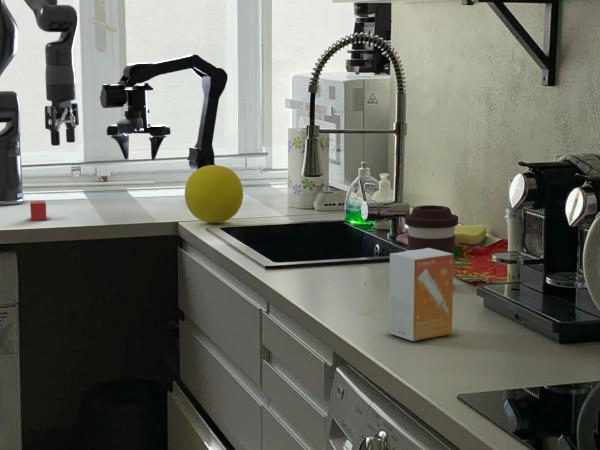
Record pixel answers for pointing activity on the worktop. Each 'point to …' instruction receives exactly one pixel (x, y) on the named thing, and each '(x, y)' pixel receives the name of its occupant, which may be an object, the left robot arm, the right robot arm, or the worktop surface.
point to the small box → (421, 294)
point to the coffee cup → (431, 228)
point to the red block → (38, 210)
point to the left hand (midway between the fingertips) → (63, 143)
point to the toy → (213, 193)
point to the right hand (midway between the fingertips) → (139, 159)
